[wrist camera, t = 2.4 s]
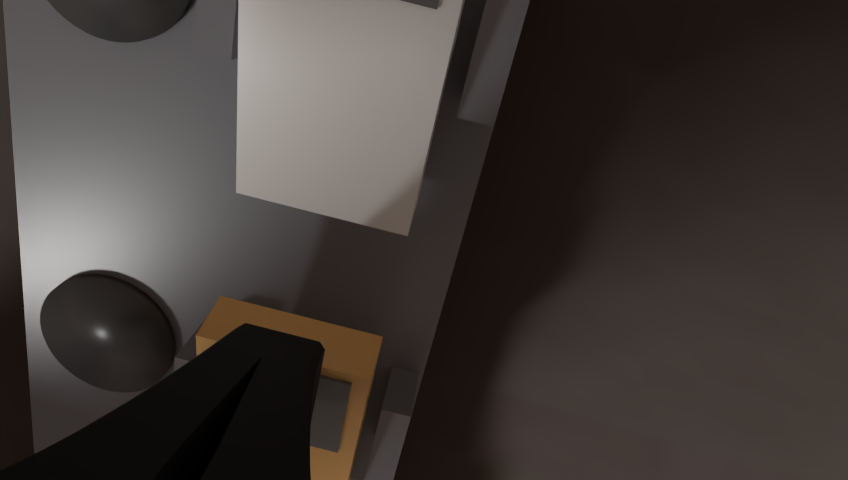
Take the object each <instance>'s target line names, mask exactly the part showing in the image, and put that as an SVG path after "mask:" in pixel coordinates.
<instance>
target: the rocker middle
mask: <svg viewBox="0 0 848 480" xmlns="http://www.w3.org/2000/svg"><path fill="white" fill-rule="evenodd" d="M244 323H248V324H252V325H256V326H260V327H264V328H268V329H272V330H276V331H280V332H284V333H288V334H292V335H296V336H300V337H304V338H308V339H311V340H315V341H319V342H320V343H321V344H322V346H323V347H324V348H325V353H324V358H323V363H322V368H321V374H320V379H319V384H318V389H317V394H316V400H315V405H314V410H313V415H312V420H311V426H310V472H311V480H350V477H351V472H352V468H353V464H354V459H355V455H356V451H357V446H358V442H359V439H360V435H361V431H362V427H363V423H364V419H365V415H366V408H367V403H368V399H369V395H370V391H371V386H372V382H373V378H374V373H375V369H376V365H377V360H378V356H379V352H380V347H381V343H382V339H383V337H382V336H378V335H374V334H370V333H366V332H362V331H359V330H355V329H351V328H347V327H343V326H339V325H335V324H331V323H327V322H323V321H319V320H315V319H311V318H307V317H303V316H299V315H295V314H291V313H287V312H283V311H279V310H275V309H271V308H267V307H263V306H260V305H256V304H252V303H248V302H244V301H240V300H236V299H232V298H228V297H224V296H220V297H219V299H218V300H217V302H216V304H215V305H214V307H213V308H212V310H211V312H210V313H209V315H208V316H207V318H206V320H205V321H204V323H203V325H202V326H201V328H200V329H199V331H198V333H197V334H196V354H197V356H198V355H199V354H200V353H202V352H203V351H205V350H206V349H208V348H209V347H210V346H212V345H213V344H215V343H216V342H217V341H219V340H220V339H222V338H223V337H224V336H226V335H227V334H228V333H230V332H231V331H233V330H234V329H236V328H237V327H239V326H240V325H242V324H244Z"/></svg>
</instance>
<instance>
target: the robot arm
mask: <svg viewBox="0 0 848 480" xmlns="http://www.w3.org/2000/svg"><path fill="white" fill-rule="evenodd" d="M324 353H325V348H324V347H323V346H322V344H321V343H320V342H319V341H315V340H311V339H308V338H304V337H300V336H296V335H292V334H288V333H284V332H280V331H276V330H272V329H268V328H264V327H260V326H256V325H252V324H248V323H244V324H242V325H240V326H239V327H237V328H236V329H234V330H233V331H231V332H230V333H228V334H227V335H226V336H224V337H223V338H222V339H220V340H219V341H217V342H216V343H215V344H213V345H212V346H210V347H209V348H208V349H206V350H205V351H203V352H202V353H200V354H199V355H198V356H196V357H195V358H193V359H192V360H190V361H189V362H187V363H186V364H185V365H183V366H182V367H180V368H179V369H177V370H176V371H174V372H173V373H171V374H170V375H168V376H166V377H165V378H163V379H162V380H160V381H159V382H157V383H156V384H154V385H153V386H151V387H150V388H148V389H147V390H145V391H144V392H142V393H140V394H139V395H137V396H136V397H134V398H132V399H131V400H129V401H128V402H126V403H124V404H122V405H121V406H119V407H117V408H116V409H114V410H112V411H111V412H109V413H107V414H105V415H104V416H102V417H100V418H99V419H97V420H95V421H94V422H92V423H90V424H88V425H87V426H85V427H83V428H82V429H80V430H78V431H76V432H75V433H73V434H71V435H69V436H67V437H65V438H64V439H62V440H60V441H58V442H56V443H54V444H52V445H51V446H49V447H47V448H45V449H43V450H41V451H39V452H37V453H35V454H33V455H31V456H29V457H27V458H25V459H23V460H21V461H19V462H17V463H15V464H13V465H11V466H9V467H7V468H5V469H3V470H1V471H0V480H311V472H310V426H311V420H312V415H313V410H314V405H315V400H316V394H317V389H318V384H319V379H320V374H321V368H322V363H323V358H324Z"/></svg>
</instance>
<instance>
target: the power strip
mask: <svg viewBox="0 0 848 480" xmlns="http://www.w3.org/2000/svg"><path fill="white" fill-rule="evenodd" d="M529 2H530V0H465V2H464V6H463V11H462V15H461V19H460V26H459V31H458V35H457V39H456V43H455V48H454V52H453V55H452V59H451V63H450V66H449V70H448V74H447V78H446V83H445V87H444V91H443V95H442V100H441V104H440V108H439V112H438V117H437V121H436V125H435V129H434V134H433V138H432V142H431V146H430V150H429V155H428V159H427V163H426V167H425V172H424V176H423V180H422V184H421V189H420V193H419V197H418V201H417V205H416V209H415V212H414V216H413V219H412V223H411V226H410V230H409V233H408V236H405V235H401V234H397V233H393V232H389V231H385V230H381V229H377V228H373V227H369V226H365V225H361V224H357V223H353V222H349V221H345V220H341V219H338V218H334V217H330V216H326V215H322V214H318V213H314V212H310V211H306V210H302V209H298V208H294V207H290V206H286V205H282V204H278V203H274V202H270V201H266V200H262V199H259V198H255V197H251V196H247V195H243V194H239V193H236V149H237V73H238V0H3V8H4V23H5V37H6V52H7V66H8V81H9V96H10V110H11V125H12V139H13V154H14V168H15V183H16V197H17V212H18V226H19V241H20V256H21V270H22V285H23V299H24V314H25V328H26V343H27V357H28V372H29V386H30V401H31V416H32V430H33V445H34V454H35V453H37V452H39V451H41V450H43V449H45V448H47V447H49V446H51V445H52V444H54V443H56V442H58V441H60V440H62V439H64V438H65V437H67V436H69V435H71V434H73V433H75V432H76V431H78V430H80V429H82V428H83V427H85V426H87V425H88V424H90V423H92V422H94V421H95V420H97V419H99V418H100V417H102V416H104V415H105V414H107V413H109V412H111V411H112V410H114V409H116V408H117V407H119V406H121V405H122V404H124V403H126V402H128V401H129V400H131V399H132V398H134V397H136V396H137V395H139V394H140V393H142V392H144V391H145V390H147V389H148V388H150V387H151V386H153V385H154V384H156V383H157V382H159V381H160V380H162V379H163V378H165V377H166V376H168V375H170V374H171V373H173V372H174V371H176V370H177V369H179V368H180V367H182V366H183V365H185V364H186V363H187V362H189V361H190V360H192V359H193V358H195V357H196V356H197V354H196V334H197V333H198V331H199V329H200V328H201V326H202V325H203V323H204V321H205V320H206V318H207V316H208V315H209V313H210V312H211V310H212V308H213V307H214V305H215V304H216V302H217V300H218V299H219V297H220V296H224V297H228V298H232V299H236V300H240V301H244V302H248V303H252V304H256V305H260V306H263V307H267V308H271V309H275V310H279V311H283V312H287V313H291V314H295V315H299V316H303V317H307V318H311V319H315V320H319V321H323V322H327V323H331V324H335V325H339V326H343V327H347V328H351V329H355V330H359V331H362V332H366V333H370V334H374V335H378V336H382V337H383V339H382V343H381V347H380V352H379V356H378V360H377V365H376V369H375V373H374V378H373V382H372V386H371V391H370V395H369V399H368V403H367V408H366V415H365V419H364V423H363V427H362V431H361V435H360V439H359V442H358V446H357V451H356V455H355V459H354V464H353V468H352V472H351V477H350V480H393V479H394V476H395V472H396V469H397V465H398V461H399V458H400V454H401V451H402V447H403V444H404V440H405V437H406V433H407V430H408V426H409V423H410V419H411V416H412V412H413V409H414V405H415V402H416V398H417V395H418V391H419V388H420V384H421V381H422V377H423V374H424V370H425V367H426V363H427V360H428V356H429V353H430V349H431V346H432V342H433V339H434V335H435V332H436V328H437V325H438V321H439V318H440V314H441V311H442V307H443V304H444V300H445V297H446V293H447V290H448V286H449V283H450V279H451V276H452V272H453V269H454V265H455V262H456V258H457V255H458V251H459V248H460V244H461V241H462V237H463V234H464V230H465V227H466V223H467V220H468V216H469V213H470V209H471V206H472V202H473V199H474V195H475V192H476V188H477V185H478V181H479V178H480V174H481V171H482V167H483V163H484V160H485V156H486V153H487V149H488V146H489V142H490V139H491V135H492V132H493V128H494V125H495V121H496V118H497V114H498V111H499V107H500V104H501V100H502V97H503V93H504V90H505V86H506V83H507V79H508V76H509V72H510V69H511V65H512V62H513V58H514V55H515V51H516V48H517V44H518V41H519V37H520V34H521V30H522V27H523V23H524V20H525V16H526V13H527V9H528V6H529Z"/></svg>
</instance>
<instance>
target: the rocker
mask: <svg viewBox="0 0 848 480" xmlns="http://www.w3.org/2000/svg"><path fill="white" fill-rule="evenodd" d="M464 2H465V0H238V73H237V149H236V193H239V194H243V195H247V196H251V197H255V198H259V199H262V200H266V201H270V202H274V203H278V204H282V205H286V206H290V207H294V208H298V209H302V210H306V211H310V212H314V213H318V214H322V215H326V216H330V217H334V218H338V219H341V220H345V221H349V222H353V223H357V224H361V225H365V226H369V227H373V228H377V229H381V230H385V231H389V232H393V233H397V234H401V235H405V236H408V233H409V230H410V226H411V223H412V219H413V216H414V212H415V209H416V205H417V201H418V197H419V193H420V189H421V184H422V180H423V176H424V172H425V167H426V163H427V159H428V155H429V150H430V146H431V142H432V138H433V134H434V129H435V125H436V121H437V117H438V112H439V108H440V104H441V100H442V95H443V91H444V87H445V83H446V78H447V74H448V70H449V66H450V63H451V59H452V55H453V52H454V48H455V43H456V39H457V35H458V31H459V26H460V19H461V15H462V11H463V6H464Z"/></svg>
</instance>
